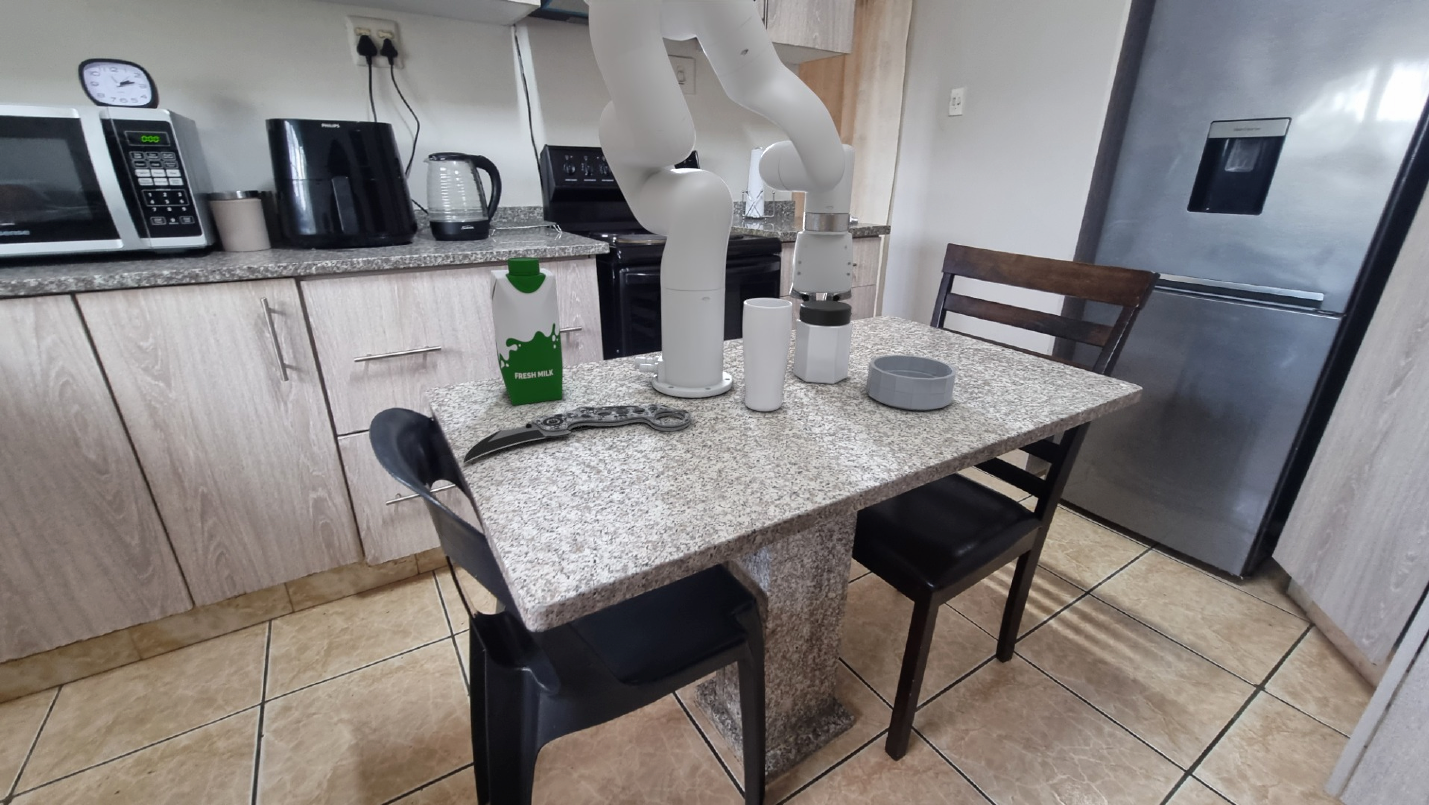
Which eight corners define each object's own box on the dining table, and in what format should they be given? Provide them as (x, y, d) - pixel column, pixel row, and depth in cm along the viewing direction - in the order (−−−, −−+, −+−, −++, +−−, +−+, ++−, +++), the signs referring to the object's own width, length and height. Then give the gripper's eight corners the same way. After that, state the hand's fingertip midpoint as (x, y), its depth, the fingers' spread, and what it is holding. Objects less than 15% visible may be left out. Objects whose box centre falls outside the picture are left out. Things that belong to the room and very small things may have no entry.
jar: (812, 365, 103) (818, 297, 99) (854, 375, 98) (862, 304, 94) (784, 376, 96) (788, 305, 92) (827, 388, 92) (834, 312, 87)
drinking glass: (773, 418, 79) (779, 309, 74) (730, 408, 83) (734, 303, 77) (794, 403, 85) (801, 301, 79) (753, 394, 88) (757, 295, 83)
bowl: (874, 410, 83) (879, 377, 81) (860, 383, 94) (863, 353, 92) (962, 414, 82) (968, 380, 80) (936, 386, 93) (941, 356, 92)
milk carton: (506, 409, 81) (490, 262, 74) (499, 388, 88) (483, 254, 81) (570, 400, 84) (559, 259, 77) (557, 381, 92) (547, 252, 85)
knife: (462, 458, 63) (458, 420, 72) (464, 470, 64) (459, 432, 72) (701, 423, 75) (673, 394, 83) (700, 434, 75) (673, 404, 83)
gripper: (866, 223, 100) (856, 327, 107) (780, 221, 101) (774, 325, 108) (875, 226, 93) (863, 337, 100) (782, 225, 94) (776, 335, 101)
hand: (817, 330), depth 104 cm, fingers closed
